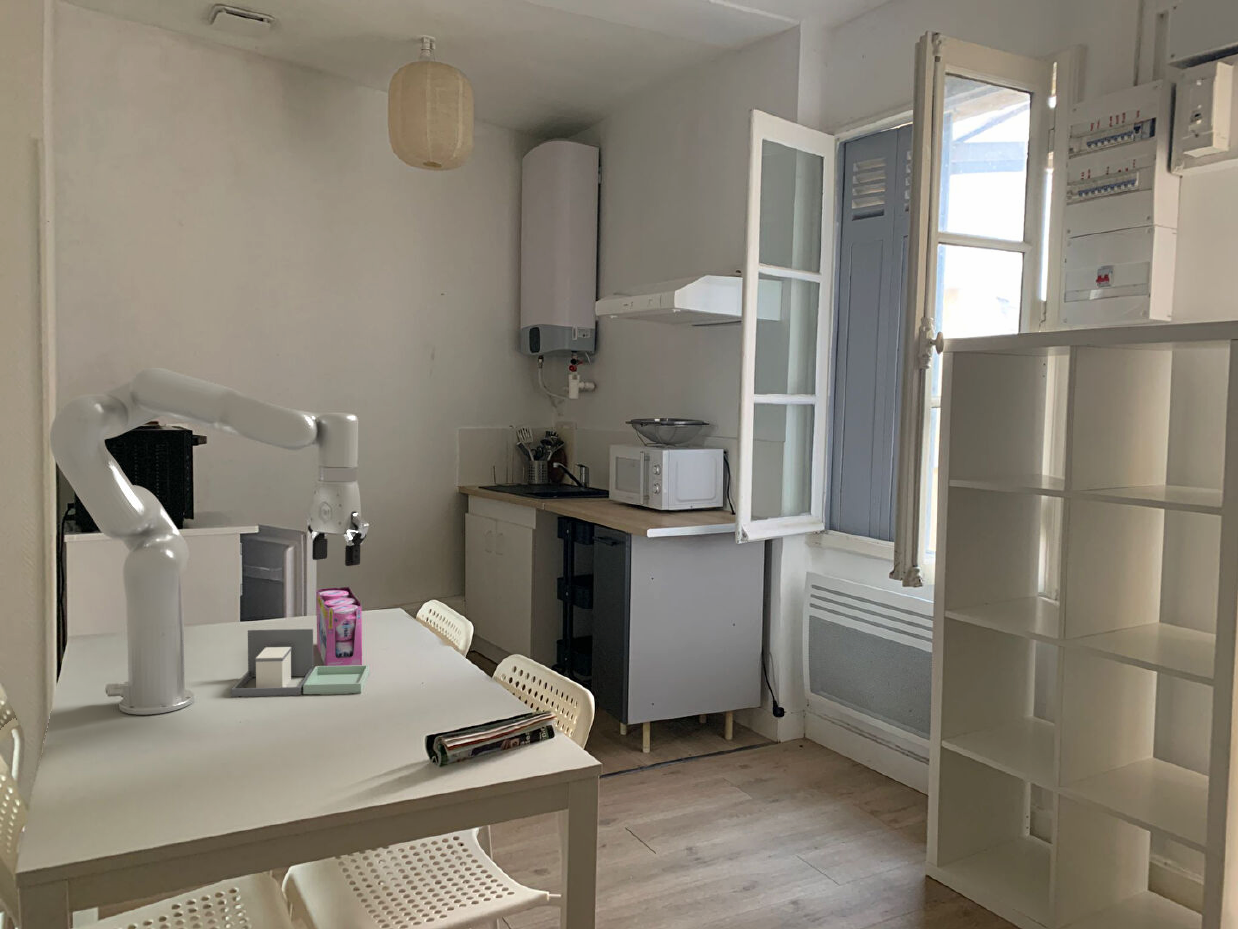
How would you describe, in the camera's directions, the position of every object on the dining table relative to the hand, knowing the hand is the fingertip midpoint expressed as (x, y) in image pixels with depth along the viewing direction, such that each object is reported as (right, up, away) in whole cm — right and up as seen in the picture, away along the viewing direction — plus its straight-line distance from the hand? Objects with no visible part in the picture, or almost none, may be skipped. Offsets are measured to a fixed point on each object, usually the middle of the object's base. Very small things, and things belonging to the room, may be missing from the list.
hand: (335, 562), depth 182 cm
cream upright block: (-14, -26, +5) cm, 30 cm away
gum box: (-8, -25, +28) cm, 38 cm away
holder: (-14, -26, +5) cm, 30 cm away
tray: (-2, -26, +7) cm, 27 cm away
